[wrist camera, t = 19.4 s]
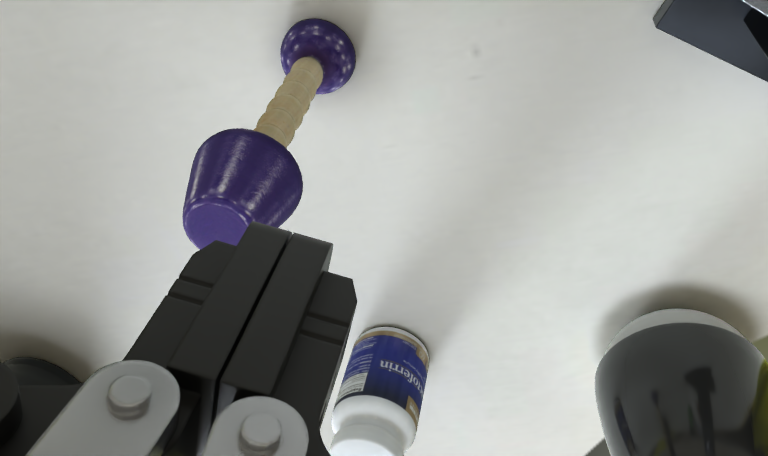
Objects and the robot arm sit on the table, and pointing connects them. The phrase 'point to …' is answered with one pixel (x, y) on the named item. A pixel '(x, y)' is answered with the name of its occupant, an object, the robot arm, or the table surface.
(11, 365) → the lamp
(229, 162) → the toy lamp
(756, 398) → the black egg-shaped dome
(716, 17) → the switch bracket
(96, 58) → the table surface
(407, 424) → the pill bottle
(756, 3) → the switch lever
